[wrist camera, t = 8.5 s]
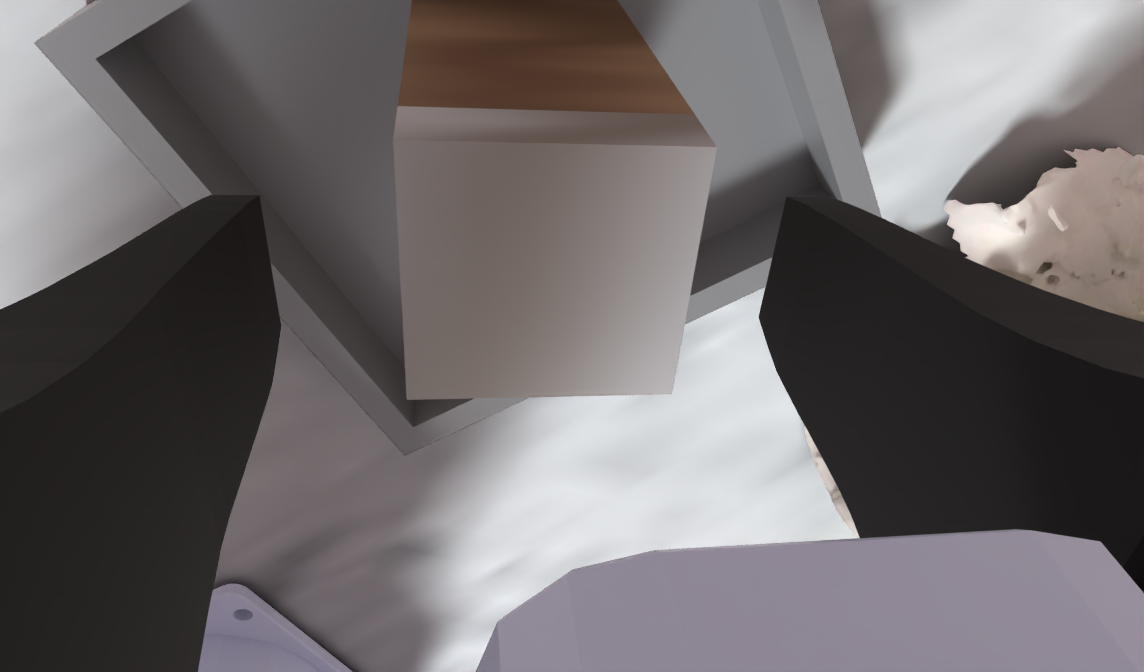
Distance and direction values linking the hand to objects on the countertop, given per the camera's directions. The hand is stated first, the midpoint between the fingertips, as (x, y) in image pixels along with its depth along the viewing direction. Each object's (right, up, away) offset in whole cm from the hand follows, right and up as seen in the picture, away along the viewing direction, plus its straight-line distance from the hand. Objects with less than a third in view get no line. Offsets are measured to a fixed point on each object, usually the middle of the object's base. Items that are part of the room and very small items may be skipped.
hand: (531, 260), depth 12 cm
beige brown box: (-1, +4, +4) cm, 5 cm away
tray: (-1, +3, +5) cm, 6 cm away
